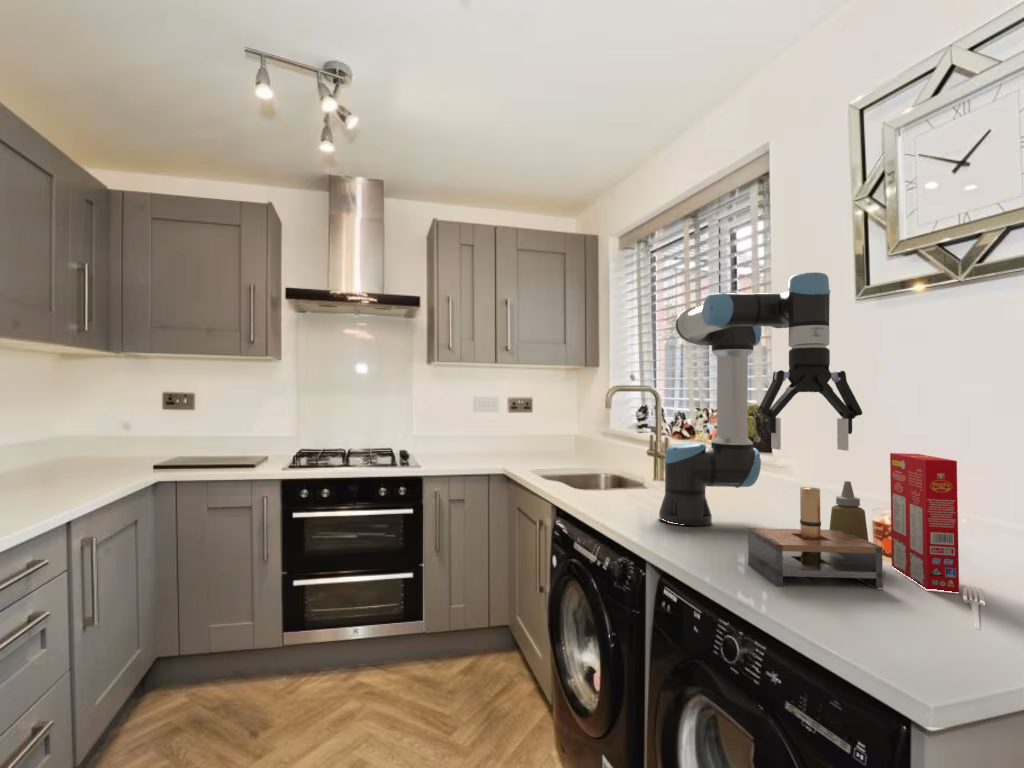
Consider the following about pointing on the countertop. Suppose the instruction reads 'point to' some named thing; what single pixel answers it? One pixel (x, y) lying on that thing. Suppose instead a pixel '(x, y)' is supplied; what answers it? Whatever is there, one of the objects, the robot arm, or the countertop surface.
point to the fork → (974, 605)
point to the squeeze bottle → (849, 514)
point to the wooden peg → (810, 523)
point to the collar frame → (839, 551)
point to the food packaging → (925, 519)
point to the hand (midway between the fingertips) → (809, 449)
